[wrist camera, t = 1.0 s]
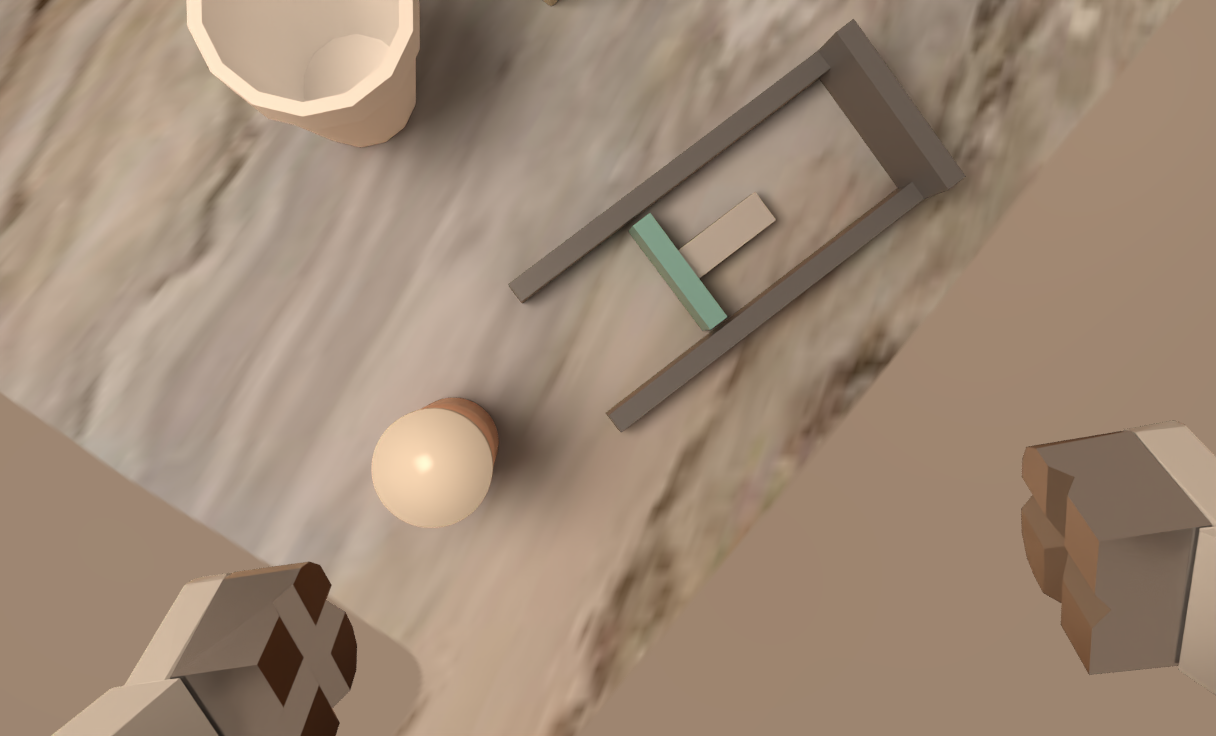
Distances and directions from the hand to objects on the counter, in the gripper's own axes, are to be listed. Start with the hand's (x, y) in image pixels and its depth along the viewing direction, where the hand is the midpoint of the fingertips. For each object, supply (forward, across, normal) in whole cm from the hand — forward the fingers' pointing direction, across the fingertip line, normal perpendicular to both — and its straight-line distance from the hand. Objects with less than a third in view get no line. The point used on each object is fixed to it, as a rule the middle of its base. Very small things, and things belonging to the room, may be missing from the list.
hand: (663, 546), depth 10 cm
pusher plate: (+41, -2, +14) cm, 43 cm away
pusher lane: (+41, -2, +14) cm, 43 cm away
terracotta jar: (+34, +15, +20) cm, 42 cm away
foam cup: (+44, +16, +2) cm, 46 cm away
